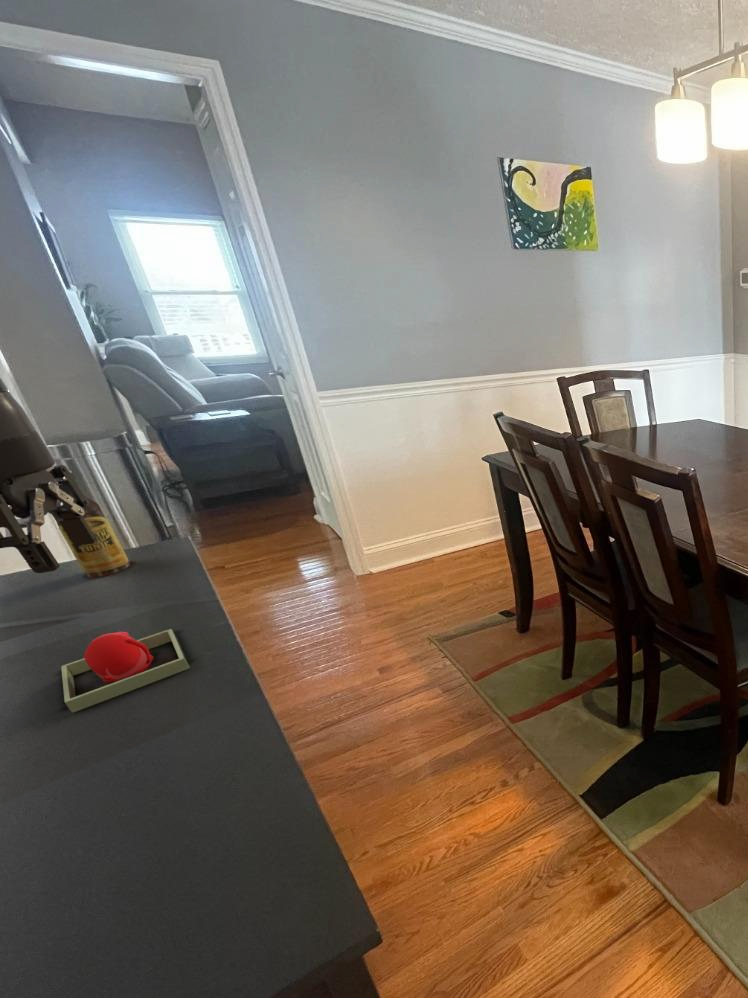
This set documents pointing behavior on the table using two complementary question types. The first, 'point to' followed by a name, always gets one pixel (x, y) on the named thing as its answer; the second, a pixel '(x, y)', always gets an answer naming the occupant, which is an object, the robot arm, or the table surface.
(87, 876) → the table surface
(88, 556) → the sauce bottle
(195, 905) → the table surface
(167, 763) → the table surface
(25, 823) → the table surface
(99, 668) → the cap
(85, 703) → the frame
